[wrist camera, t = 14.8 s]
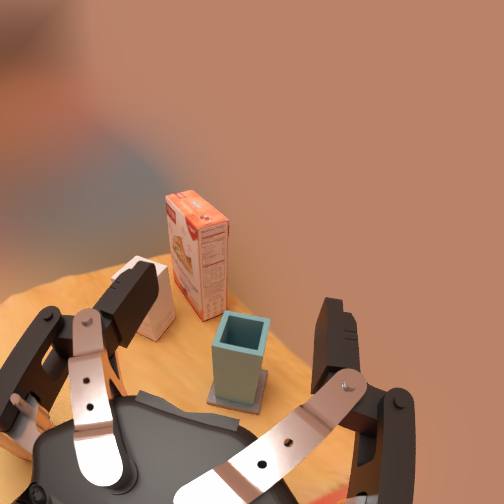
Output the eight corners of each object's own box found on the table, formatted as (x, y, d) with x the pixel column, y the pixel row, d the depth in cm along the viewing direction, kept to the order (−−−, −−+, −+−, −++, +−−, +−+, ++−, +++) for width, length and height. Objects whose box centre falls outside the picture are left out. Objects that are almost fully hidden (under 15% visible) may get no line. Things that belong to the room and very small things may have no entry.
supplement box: (177, 317, 51) (169, 265, 44) (156, 343, 46) (142, 292, 39) (147, 304, 53) (136, 253, 46) (126, 327, 48) (109, 277, 40)
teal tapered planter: (252, 405, 37) (262, 356, 29) (215, 397, 37) (211, 345, 29) (259, 374, 41) (270, 318, 33) (224, 367, 42) (224, 310, 34)
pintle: (258, 415, 36) (264, 393, 32) (207, 403, 37) (203, 380, 33) (266, 373, 43) (273, 346, 38) (220, 363, 44) (219, 335, 39)
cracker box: (172, 281, 60) (163, 194, 48) (196, 273, 63) (193, 188, 51) (201, 324, 51) (195, 227, 39) (228, 312, 54) (231, 217, 42)
